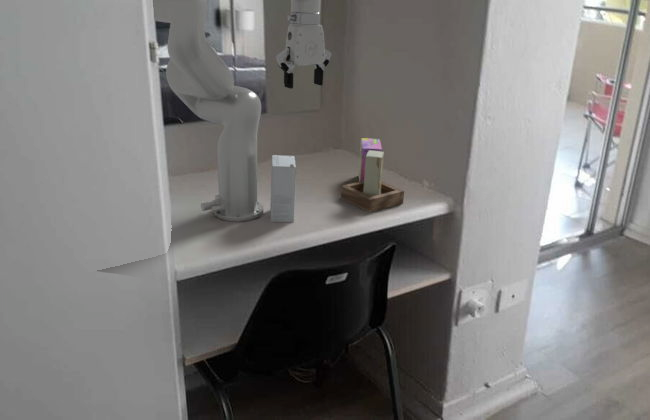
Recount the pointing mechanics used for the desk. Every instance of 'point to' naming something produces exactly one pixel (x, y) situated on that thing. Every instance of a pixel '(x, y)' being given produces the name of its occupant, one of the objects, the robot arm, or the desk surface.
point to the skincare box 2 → (373, 173)
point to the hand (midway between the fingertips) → (303, 86)
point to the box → (364, 148)
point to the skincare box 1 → (283, 188)
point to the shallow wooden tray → (368, 203)
